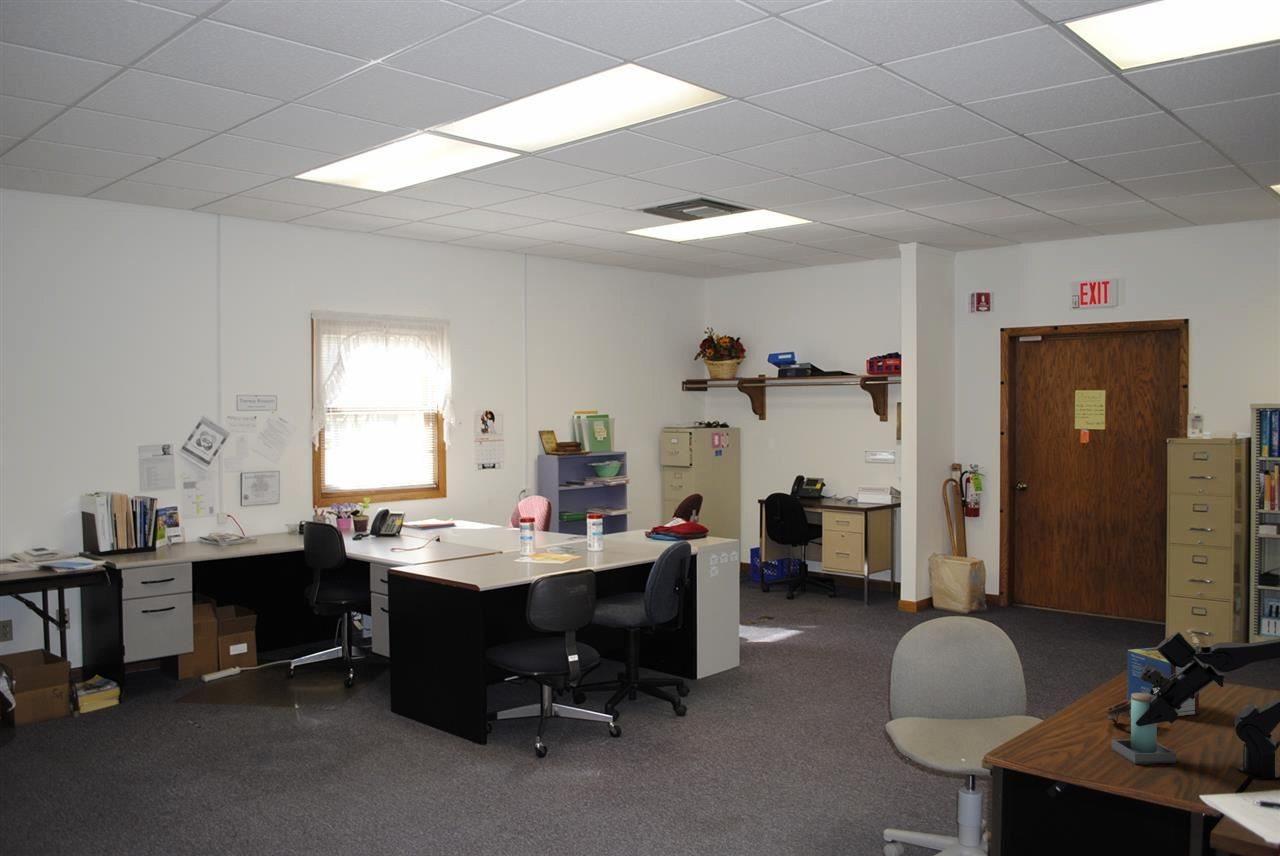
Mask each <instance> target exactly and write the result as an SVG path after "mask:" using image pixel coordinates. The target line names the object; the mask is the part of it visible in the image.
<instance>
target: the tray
mask: <svg viewBox="0 0 1280 856" xmlns="http://www.w3.org/2000/svg"><path fill="white" fill-rule="evenodd" d="M1110 749H1112V750H1111V751H1113V750H1114V751H1115V752H1114V751H1113V752H1114V753H1116V752H1117V753H1119V754H1120V755H1119V754H1118V755H1119V756H1121V755H1122V756H1123V757H1122V756H1121V757H1122V758H1124V757H1125V758H1127V759H1128V760H1130V761H1131V763H1132V762H1133V763H1135V764H1141V765H1150V764H1149V763H1176V764H1177V753H1176V752H1175V751H1174V750H1171V749H1170V748H1167V747H1166V746H1164V745H1163V744H1161V743H1159V742H1157V751H1156V752H1155V753H1143V752H1138V751H1135V750H1133V749H1132V748H1131V738H1130V739H1111V748H1110ZM1117 753H1116V754H1117ZM1125 758H1124V759H1125ZM1127 759H1126V760H1127ZM1128 760H1127V761H1128ZM1130 761H1129V762H1130ZM1133 763H1132V764H1133ZM1145 763H1146V764H1145ZM1135 764H1134V765H1135Z"/></svg>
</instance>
